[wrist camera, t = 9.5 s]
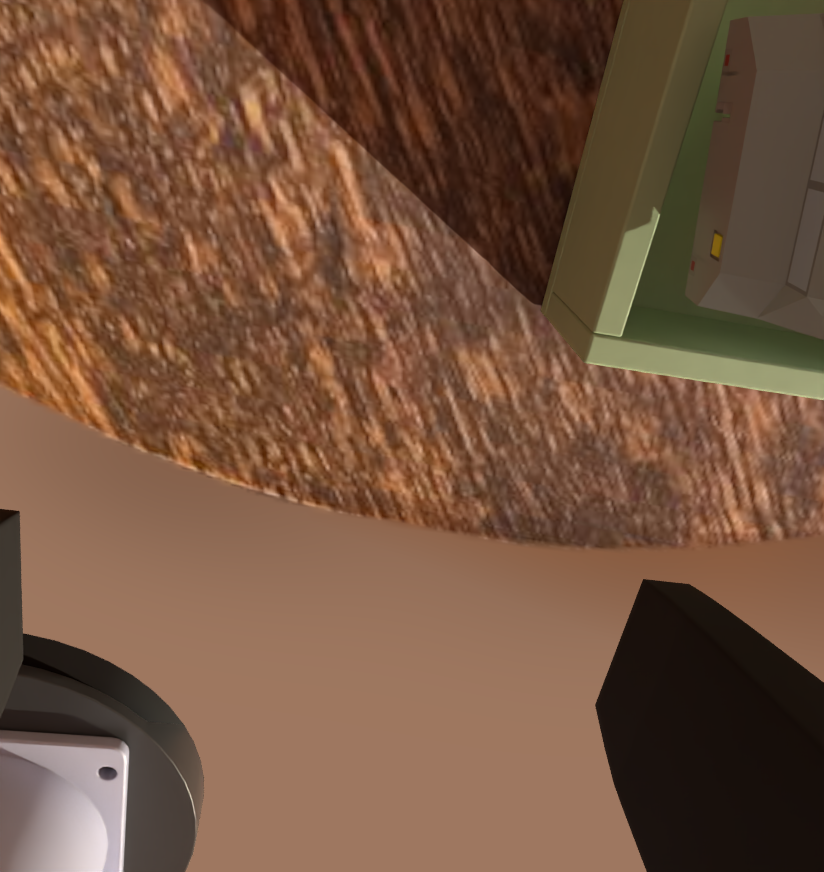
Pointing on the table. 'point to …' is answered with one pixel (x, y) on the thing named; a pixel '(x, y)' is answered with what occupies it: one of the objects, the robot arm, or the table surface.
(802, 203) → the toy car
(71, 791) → the robot arm
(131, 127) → the table surface
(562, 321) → the tote
